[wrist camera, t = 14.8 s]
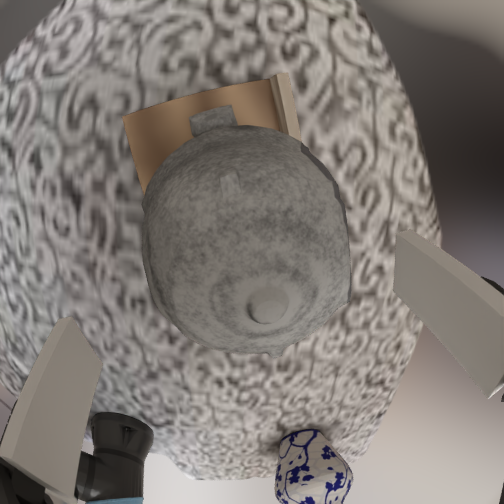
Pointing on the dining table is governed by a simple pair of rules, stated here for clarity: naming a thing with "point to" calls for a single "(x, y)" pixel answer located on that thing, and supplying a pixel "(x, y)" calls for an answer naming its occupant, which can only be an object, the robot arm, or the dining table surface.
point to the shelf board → (179, 110)
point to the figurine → (245, 238)
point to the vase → (311, 470)
